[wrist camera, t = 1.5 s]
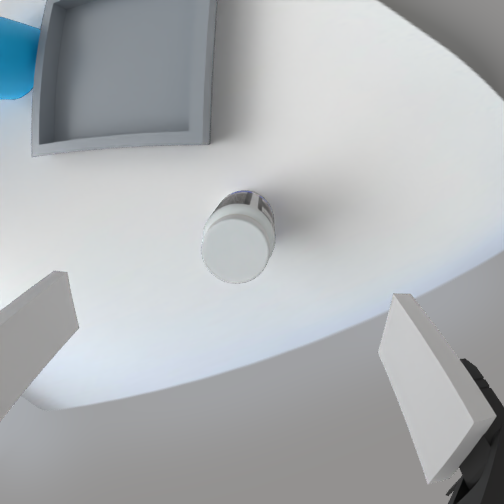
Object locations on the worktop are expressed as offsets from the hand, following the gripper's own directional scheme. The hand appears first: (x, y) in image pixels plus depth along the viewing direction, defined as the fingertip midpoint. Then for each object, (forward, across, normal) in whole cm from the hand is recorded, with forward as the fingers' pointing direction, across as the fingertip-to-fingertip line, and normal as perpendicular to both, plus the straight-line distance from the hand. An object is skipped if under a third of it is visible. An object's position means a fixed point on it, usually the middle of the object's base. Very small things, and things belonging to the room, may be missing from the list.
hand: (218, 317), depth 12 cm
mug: (+15, -26, +17) cm, 35 cm away
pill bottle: (+16, 0, 0) cm, 16 cm away
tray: (+15, -11, +14) cm, 24 cm away
